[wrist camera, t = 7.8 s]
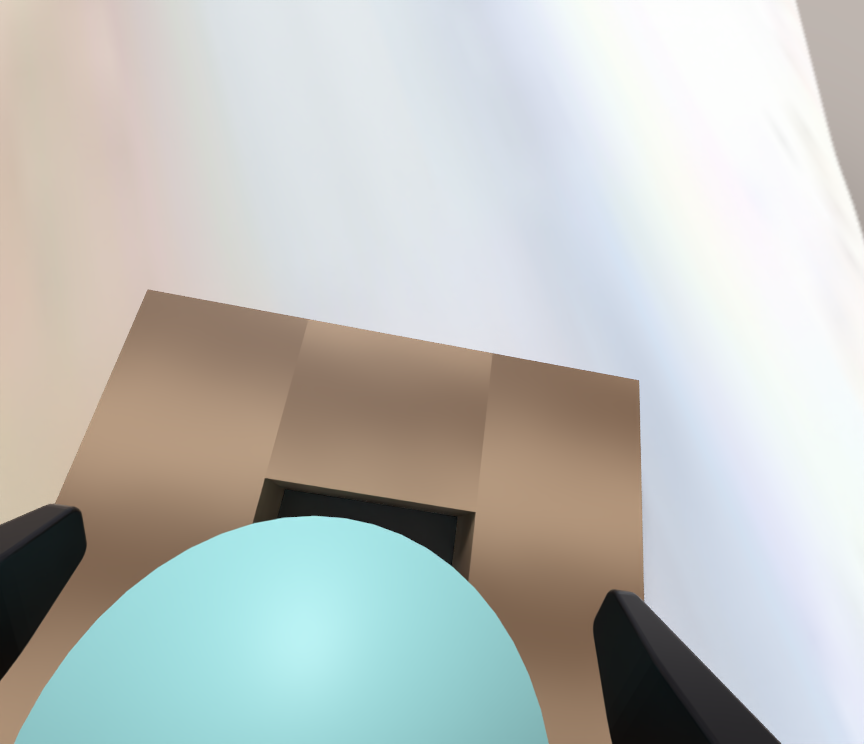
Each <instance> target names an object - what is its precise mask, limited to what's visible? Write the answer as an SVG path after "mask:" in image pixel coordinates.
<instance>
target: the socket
mask: <svg viewBox="0 0 864 744" xmlns="http://www.w3.org/2000/svg"><path fill="white" fill-rule="evenodd" d="M285 489H289V490H295V491H301V492H308V493H314V494H320V495H326V496H332V497H339V498H345V499H351V500H357V501H363V502H370V503H376V504H382V505H388V506H394V507H401V508H407V509H413V510H419V511H426V512H432V513H438V514H444V515H450V516H457V517H458V518H457V526H456V534H455V543H454V551H453V560H452V567H453V568H454V569H455V570H456V571H457V572H459V573H460V574H461V575H462V576H463V577H464V578H465V579H466V580H467V581H468V582H469V583H470V584H471V585H472V586H473V587H474V588H475V589H476V590H477V591H478V592H479V594H480V595H481V596H482V597H483V599H484V600H485V601H486V602H487V604H488V605H489V606H490V607H491V609H492V610H493V611H494V612H495V613H496V615H497V617H498V618H499V620H500V621H501V623H502V625H503V626H504V628H505V629H506V631H507V633H508V634H509V636H510V637H511V639H512V641H513V642H514V644H515V646H516V648H517V651H518V653H519V655H520V657H521V659H522V661H523V663H524V665H525V667H526V670H527V672H528V674H529V676H530V679H531V682H532V685H533V688H534V691H535V694H536V697H537V700H538V703H539V706H540V708H541V712H542V717H543V721H544V725H545V730H546V734H547V738H548V743H549V744H612V741H611V737H610V733H609V728H608V722H607V717H606V711H605V705H604V699H603V693H602V686H601V680H600V674H599V668H598V662H597V655H596V649H595V643H594V637H593V622H594V619H595V616H596V614H597V612H598V610H599V608H600V606H601V604H602V602H603V600H604V598H605V596H606V594H607V593H608V591H610V590H611V589H617V590H623V591H630V592H633V593H635V594H636V595H637V596H639V597H640V598H641V599H642V600H643V601H644V582H643V537H642V491H641V446H640V400H639V380H634V379H629V378H623V377H618V376H612V375H607V374H602V373H596V372H591V371H585V370H580V369H575V368H569V367H564V366H558V365H553V364H548V363H542V362H537V361H531V360H526V359H520V358H515V357H510V356H504V355H499V354H493V353H488V352H483V351H477V350H472V349H466V348H461V347H456V346H450V345H445V344H439V343H434V342H429V341H423V340H418V339H412V338H407V337H402V336H396V335H391V334H385V333H380V332H375V331H369V330H364V329H358V328H353V327H348V326H342V325H337V324H331V323H326V322H321V321H315V320H310V319H304V318H299V317H294V316H288V315H283V314H277V313H272V312H267V311H261V310H256V309H250V308H245V307H239V306H234V305H229V304H223V303H218V302H212V301H207V300H202V299H196V298H191V297H185V296H180V295H175V294H169V293H164V292H158V291H153V290H147V292H146V295H145V297H144V299H143V301H142V304H141V306H140V308H139V311H138V313H137V315H136V318H135V320H134V322H133V325H132V327H131V329H130V332H129V334H128V336H127V339H126V341H125V343H124V345H123V348H122V350H121V352H120V355H119V357H118V359H117V362H116V364H115V366H114V369H113V371H112V373H111V376H110V378H109V380H108V382H107V385H106V387H105V389H104V392H103V394H102V396H101V399H100V401H99V403H98V406H97V408H96V410H95V413H94V415H93V417H92V420H91V422H90V424H89V426H88V429H87V431H86V433H85V436H84V438H83V440H82V443H81V445H80V447H79V450H78V452H77V454H76V457H75V459H74V461H73V464H72V466H71V468H70V470H69V473H68V475H67V477H66V480H65V482H64V484H63V487H62V489H61V491H60V494H59V496H58V498H57V501H56V503H55V504H61V505H68V506H74V507H77V508H79V509H80V511H81V512H82V516H83V522H84V528H85V534H86V540H87V548H86V552H85V555H84V557H83V559H82V561H81V562H80V564H79V565H78V567H77V568H76V570H75V572H74V573H73V575H72V576H71V578H70V579H69V581H68V582H67V584H66V586H65V587H64V589H63V590H62V592H61V593H60V595H59V596H58V598H57V600H56V601H55V603H54V604H53V606H52V607H51V609H50V610H49V612H48V613H47V615H46V617H45V618H44V620H43V621H42V623H41V624H40V626H39V627H38V629H37V631H36V632H35V634H34V635H33V637H32V638H31V640H30V641H29V643H28V644H27V646H26V647H25V649H24V650H23V652H22V653H21V654H20V656H19V657H18V659H17V660H16V661H15V663H14V664H13V665H12V667H11V668H10V669H9V671H8V672H7V673H6V675H5V676H4V677H3V678H2V680H1V681H0V744H14V743H15V740H16V738H17V736H18V734H19V731H20V729H21V728H22V726H23V724H24V722H25V720H26V719H27V717H28V715H29V713H30V712H31V710H32V708H33V706H34V705H35V703H36V701H37V699H38V697H39V696H40V694H41V692H42V690H43V689H44V687H45V686H46V684H47V683H48V682H49V680H50V679H51V677H52V676H53V674H54V673H55V672H56V670H57V669H58V667H59V666H60V664H61V663H62V662H63V660H64V659H65V657H66V656H67V654H68V653H69V652H70V650H71V649H72V648H73V647H74V646H75V645H76V644H77V642H78V641H79V640H80V639H81V638H82V637H83V635H84V634H85V633H86V632H87V631H88V630H89V628H90V627H91V626H92V625H93V624H94V623H95V621H96V620H97V619H98V618H99V617H100V616H101V615H102V614H103V613H105V612H106V611H107V610H108V609H109V608H110V607H111V606H112V605H113V604H114V603H115V602H116V601H117V600H118V599H119V598H120V597H121V596H122V595H124V594H125V593H126V592H127V591H128V590H129V589H131V588H132V587H133V586H134V585H136V584H137V583H138V582H140V581H141V580H142V579H144V578H145V577H146V576H147V575H149V574H150V573H151V572H153V571H154V570H155V569H157V568H158V567H160V566H161V565H163V564H165V563H166V562H168V561H169V560H171V559H173V558H174V557H176V556H178V555H179V554H181V553H183V552H184V551H186V550H188V549H189V548H191V547H194V546H196V545H198V544H200V543H202V542H205V541H207V540H209V539H211V538H213V537H215V536H218V535H220V534H222V533H225V532H228V531H232V530H235V529H238V528H241V527H244V526H247V525H250V524H254V523H259V522H264V521H269V520H275V519H277V517H278V513H279V509H280V505H281V501H282V498H283V494H284V490H285Z"/></svg>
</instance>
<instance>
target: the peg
mask: <svg viewBox="0 0 864 744" xmlns="http://www.w3.org/2000/svg"><path fill="white" fill-rule="evenodd" d="M14 744H549V743H548V738H547V734H546V730H545V725H544V721H543V717H542V712H541V708H540V706H539V703H538V700H537V697H536V694H535V691H534V688H533V685H532V682H531V679H530V676H529V674H528V672H527V670H526V667H525V665H524V663H523V661H522V659H521V657H520V655H519V653H518V651H517V648H516V646H515V644H514V642H513V641H512V639H511V637H510V636H509V634H508V633H507V631H506V629H505V628H504V626H503V625H502V623H501V621H500V620H499V618H498V617H497V615H496V613H495V612H494V611H493V610H492V609H491V607H490V606H489V605H488V604H487V602H486V601H485V600H484V599H483V597H482V596H481V595H480V594H479V592H478V591H477V590H476V589H475V588H474V587H473V586H472V585H471V584H470V583H469V582H468V581H467V580H466V579H465V578H464V577H463V576H462V575H461V574H460V573H459V572H457V571H456V570H455V569H454V568H453V567H452V566H451V565H449V564H448V563H447V562H445V561H444V560H443V559H441V558H440V557H438V556H437V555H436V554H434V553H433V552H432V551H430V550H429V549H427V548H425V547H423V546H422V545H420V544H418V543H416V542H414V541H412V540H410V539H409V538H407V537H405V536H403V535H401V534H398V533H395V532H393V531H390V530H387V529H385V528H382V527H379V526H377V525H374V524H369V523H364V522H360V521H355V520H351V519H346V518H335V517H322V516H305V517H288V518H280V519H275V520H269V521H264V522H259V523H254V524H250V525H247V526H244V527H241V528H238V529H235V530H232V531H228V532H225V533H222V534H220V535H218V536H215V537H213V538H211V539H209V540H207V541H205V542H202V543H200V544H198V545H196V546H194V547H191V548H189V549H188V550H186V551H184V552H183V553H181V554H179V555H178V556H176V557H174V558H173V559H171V560H169V561H168V562H166V563H165V564H163V565H161V566H160V567H158V568H157V569H155V570H154V571H153V572H151V573H150V574H149V575H147V576H146V577H145V578H144V579H142V580H141V581H140V582H138V583H137V584H136V585H134V586H133V587H132V588H131V589H129V590H128V591H127V592H126V593H125V594H124V595H122V596H121V597H120V598H119V599H118V600H117V601H116V602H115V603H114V604H113V605H112V606H111V607H110V608H109V609H108V610H107V611H106V612H105V613H103V614H102V615H101V616H100V617H99V618H98V619H97V620H96V621H95V623H94V624H93V625H92V626H91V627H90V628H89V630H88V631H87V632H86V633H85V634H84V635H83V637H82V638H81V639H80V640H79V641H78V642H77V644H76V645H75V646H74V647H73V648H72V649H71V650H70V652H69V653H68V654H67V656H66V657H65V659H64V660H63V662H62V663H61V664H60V666H59V667H58V669H57V670H56V672H55V673H54V674H53V676H52V677H51V679H50V680H49V682H48V683H47V684H46V686H45V687H44V689H43V690H42V692H41V694H40V696H39V697H38V699H37V701H36V703H35V705H34V706H33V708H32V710H31V712H30V713H29V715H28V717H27V719H26V720H25V722H24V724H23V726H22V728H21V729H20V731H19V734H18V736H17V738H16V740H15V743H14Z"/></svg>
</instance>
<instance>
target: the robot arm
mask: <svg viewBox="0 0 864 744" xmlns="http://www.w3.org/2000/svg"><path fill="white" fill-rule="evenodd" d="M86 548H87V540H86V534H85V528H84V522H83V516H82V512H81V511H80V509H79V508H77V507H74V506H68V505H61V504H48V505H46V506H43V507H41V508H38V509H36V510H34V511H31V512H29V513H27V514H24V515H22V516H20V517H17V518H15V519H13V520H10V521H8V522H6V523H3V524H1V525H0V681H1V680H2V678H3V677H4V676H5V675H6V673H7V672H8V671H9V669H10V668H11V667H12V665H13V664H14V663H15V661H16V660H17V659H18V657H19V656H20V654H21V653H22V652H23V650H24V649H25V647H26V646H27V644H28V643H29V641H30V640H31V638H32V637H33V635H34V634H35V632H36V631H37V629H38V627H39V626H40V624H41V623H42V621H43V620H44V618H45V617H46V615H47V613H48V612H49V610H50V609H51V607H52V606H53V604H54V603H55V601H56V600H57V598H58V596H59V595H60V593H61V592H62V590H63V589H64V587H65V586H66V584H67V582H68V581H69V579H70V578H71V576H72V575H73V573H74V572H75V570H76V568H77V567H78V565H79V564H80V562H81V561H82V559H83V557H84V555H85V552H86ZM593 637H594V643H595V649H596V655H597V662H598V668H599V674H600V680H601V686H602V693H603V699H604V705H605V711H606V717H607V722H608V728H609V733H610V737H611V741H612V744H781V743H780V742H779V741H778V740H777V739H776V737H775V736H774V735H773V734H772V733H771V732H770V731H769V730H768V729H767V728H766V727H765V726H764V725H763V724H762V723H761V722H760V721H759V720H758V719H757V718H756V717H755V716H754V715H753V714H752V713H751V712H750V711H749V710H748V709H747V708H746V707H745V706H744V705H743V703H742V702H741V701H740V700H739V699H738V698H737V697H736V696H735V695H734V694H733V693H732V692H731V691H730V690H729V689H728V688H727V687H726V686H725V685H724V684H723V683H722V682H721V681H720V680H719V679H718V678H717V677H716V676H715V675H714V674H713V673H712V672H711V671H710V669H709V668H708V667H707V666H706V665H705V664H704V663H703V662H702V661H701V660H700V659H699V658H698V657H697V656H696V655H695V654H694V653H693V652H692V651H691V650H690V649H689V648H688V647H687V646H686V645H685V644H684V643H683V642H682V641H681V640H680V639H679V638H678V636H677V635H676V634H675V633H674V632H673V631H672V630H671V629H670V628H669V627H668V626H667V625H666V624H665V623H664V622H663V621H662V620H661V619H660V618H659V617H658V616H657V615H656V614H655V613H654V612H653V611H652V610H651V609H650V608H649V607H648V606H647V605H646V604H645V602H644V601H643V600H642V599H641V598H640V597H639V596H637V595H636V594H635V593H633V592H630V591H623V590H617V589H611V590H610V591H608V593H607V594H606V596H605V598H604V600H603V602H602V604H601V606H600V608H599V610H598V612H597V614H596V616H595V619H594V622H593Z"/></svg>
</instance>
